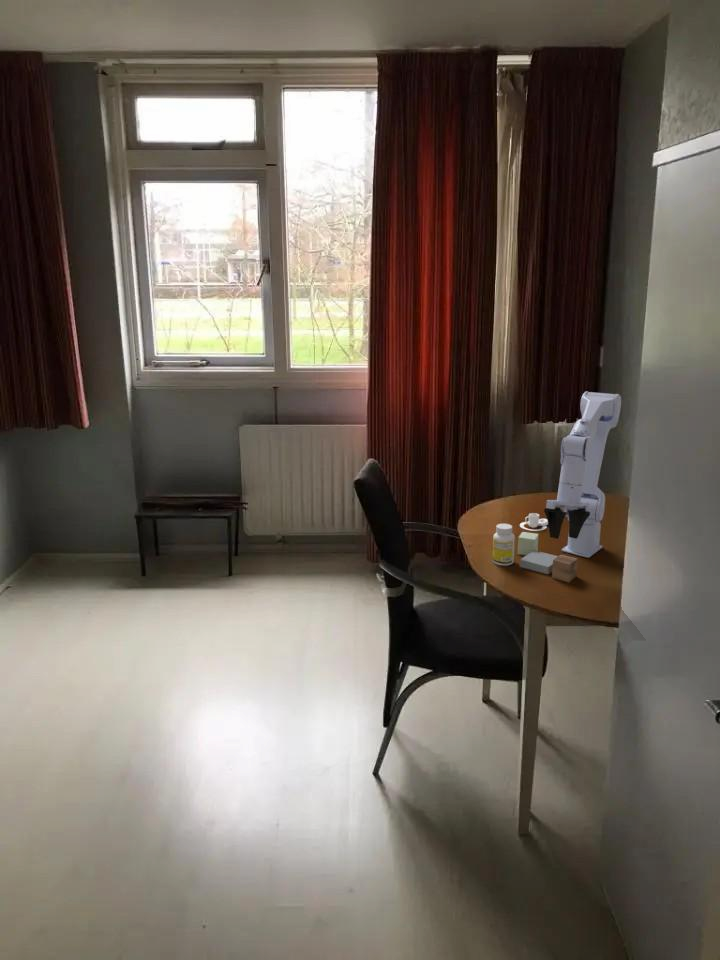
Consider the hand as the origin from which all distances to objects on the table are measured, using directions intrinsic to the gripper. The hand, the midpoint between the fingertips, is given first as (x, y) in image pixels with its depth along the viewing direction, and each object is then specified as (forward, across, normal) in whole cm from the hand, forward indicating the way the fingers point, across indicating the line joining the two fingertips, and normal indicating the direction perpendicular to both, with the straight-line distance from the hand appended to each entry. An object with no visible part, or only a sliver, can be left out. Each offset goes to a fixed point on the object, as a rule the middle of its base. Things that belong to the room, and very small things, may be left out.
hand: (563, 537), depth 192 cm
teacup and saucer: (+3, +25, +27) cm, 37 cm away
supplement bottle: (+10, -2, +17) cm, 20 cm away
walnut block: (+10, +4, +1) cm, 11 cm away
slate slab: (+10, +4, +9) cm, 14 cm away
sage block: (+7, +8, +17) cm, 21 cm away
